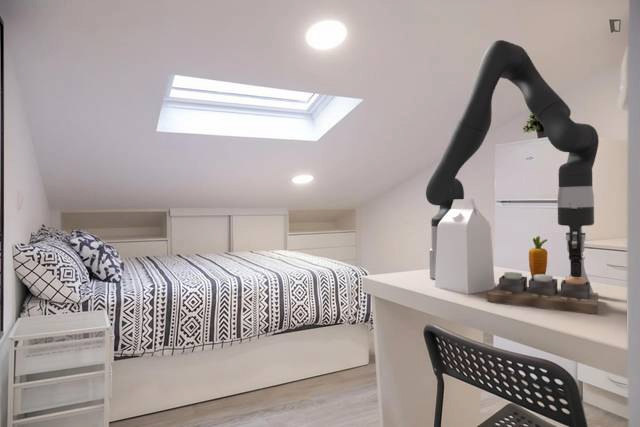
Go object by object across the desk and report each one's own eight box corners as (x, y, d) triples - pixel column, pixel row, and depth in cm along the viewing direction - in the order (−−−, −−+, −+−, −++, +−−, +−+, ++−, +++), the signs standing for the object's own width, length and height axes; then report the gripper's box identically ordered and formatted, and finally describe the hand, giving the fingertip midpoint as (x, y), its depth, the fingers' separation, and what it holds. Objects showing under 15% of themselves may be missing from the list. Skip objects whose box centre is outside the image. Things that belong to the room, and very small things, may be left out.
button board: (487, 301, 104) (487, 281, 103) (498, 291, 115) (498, 273, 115) (597, 314, 91) (597, 291, 90) (598, 300, 102) (598, 280, 102)
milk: (494, 288, 118) (494, 198, 118) (467, 294, 112) (466, 199, 112) (461, 282, 129) (460, 199, 128) (434, 286, 123) (433, 199, 122)
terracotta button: (564, 286, 100) (564, 278, 100) (566, 283, 103) (566, 276, 103) (585, 287, 98) (585, 280, 97) (586, 284, 101) (586, 277, 101)
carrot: (534, 284, 123) (534, 234, 122) (551, 287, 119) (551, 235, 118) (525, 286, 120) (524, 235, 120) (542, 289, 116) (541, 236, 116)
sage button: (502, 280, 108) (502, 274, 108) (506, 278, 111) (506, 271, 111) (520, 282, 105) (520, 275, 105) (523, 279, 109) (523, 272, 109)
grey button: (532, 283, 104) (532, 276, 104) (535, 280, 107) (535, 273, 107) (551, 285, 101) (551, 277, 101) (553, 282, 105) (553, 275, 105)
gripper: (559, 205, 108) (560, 271, 108) (555, 206, 97) (555, 279, 97) (594, 205, 103) (595, 273, 104) (593, 205, 92) (594, 282, 93)
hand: (576, 276), depth 100 cm, fingers closed
